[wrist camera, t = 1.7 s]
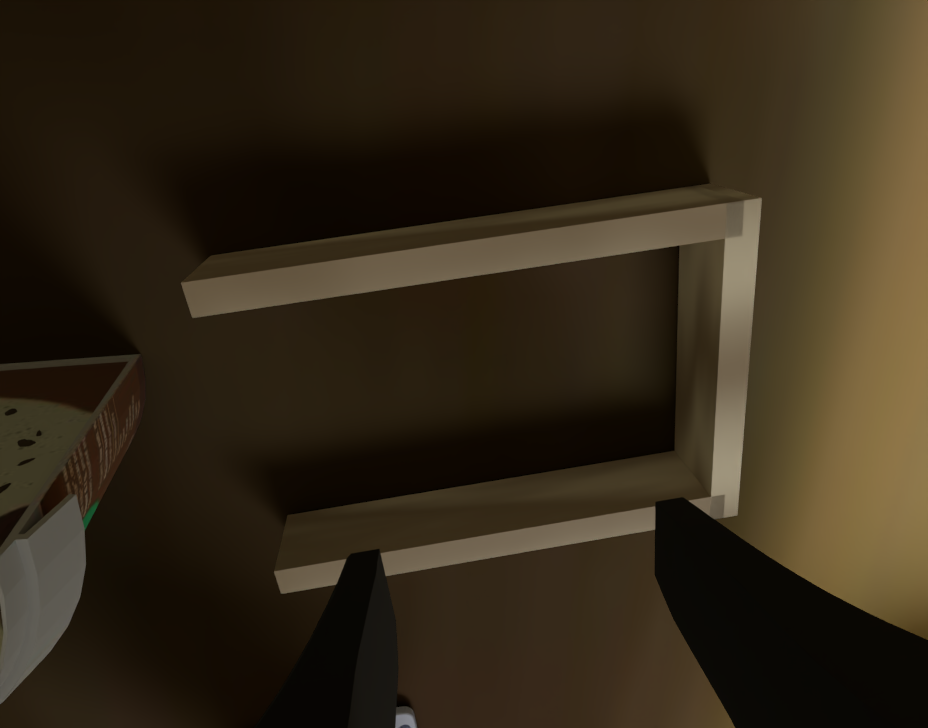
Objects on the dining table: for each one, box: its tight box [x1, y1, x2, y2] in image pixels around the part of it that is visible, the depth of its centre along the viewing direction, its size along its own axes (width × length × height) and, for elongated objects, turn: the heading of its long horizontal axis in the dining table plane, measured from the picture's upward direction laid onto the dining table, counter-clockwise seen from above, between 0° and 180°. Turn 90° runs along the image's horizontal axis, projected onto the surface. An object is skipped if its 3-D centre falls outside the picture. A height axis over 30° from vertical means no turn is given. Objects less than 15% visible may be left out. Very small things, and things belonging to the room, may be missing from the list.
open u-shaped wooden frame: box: [181, 183, 762, 594], centre depth 20 cm, size 11×16×3 cm
